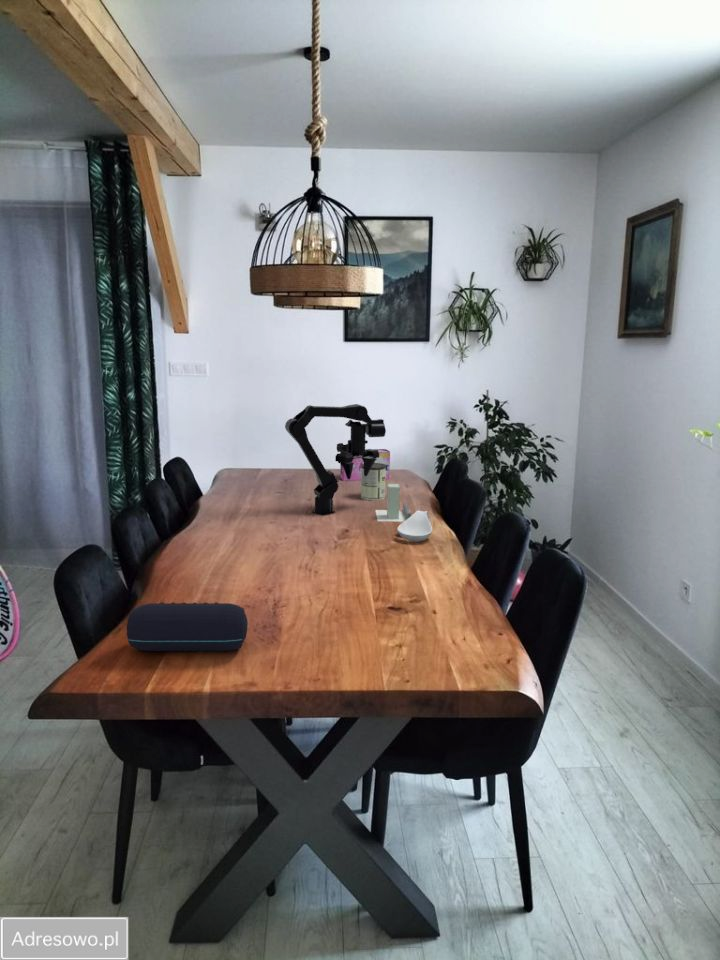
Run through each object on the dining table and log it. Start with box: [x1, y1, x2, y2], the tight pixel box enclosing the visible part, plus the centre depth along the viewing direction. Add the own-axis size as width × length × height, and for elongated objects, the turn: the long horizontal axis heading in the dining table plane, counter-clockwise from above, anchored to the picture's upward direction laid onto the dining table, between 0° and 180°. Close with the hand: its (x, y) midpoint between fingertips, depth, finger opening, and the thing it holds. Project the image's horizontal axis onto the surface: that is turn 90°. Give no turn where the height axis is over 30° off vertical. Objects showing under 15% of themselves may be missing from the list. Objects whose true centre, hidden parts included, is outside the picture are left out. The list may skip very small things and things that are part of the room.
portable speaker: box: [126, 602, 249, 652], centre depth 142 cm, size 25×10×10 cm, turn 93°
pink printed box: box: [339, 448, 391, 482], centre depth 317 cm, size 24×8×14 cm, turn 104°
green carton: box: [386, 483, 401, 519], centre depth 247 cm, size 6×4×12 cm
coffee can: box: [360, 463, 386, 501], centre depth 279 cm, size 10×10×14 cm
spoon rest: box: [396, 510, 433, 543], centre depth 229 cm, size 24×12×7 cm, turn 165°
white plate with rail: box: [375, 502, 412, 523], centre depth 250 cm, size 16×12×4 cm
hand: (357, 477), depth 257 cm, fingers open, 9 cm apart
